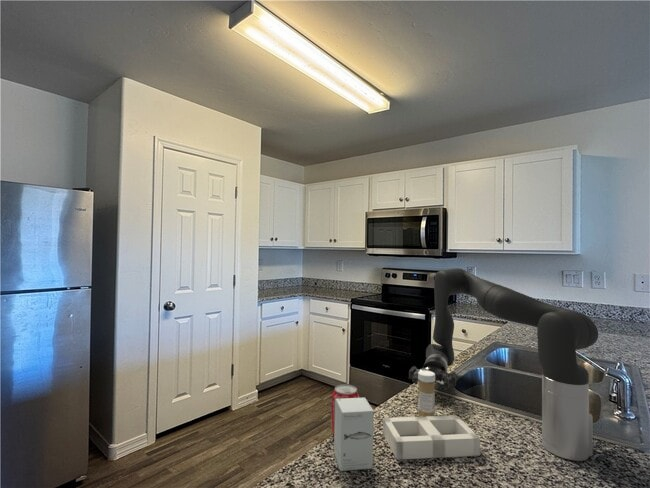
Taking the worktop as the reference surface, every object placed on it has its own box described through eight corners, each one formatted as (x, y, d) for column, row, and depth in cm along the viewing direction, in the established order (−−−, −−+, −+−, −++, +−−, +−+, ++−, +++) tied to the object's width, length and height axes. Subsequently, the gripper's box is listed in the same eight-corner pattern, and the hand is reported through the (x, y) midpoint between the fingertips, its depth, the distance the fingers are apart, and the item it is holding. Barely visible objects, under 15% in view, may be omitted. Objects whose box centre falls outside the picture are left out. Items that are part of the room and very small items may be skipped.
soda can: (352, 427, 90) (353, 382, 91) (363, 441, 84) (364, 392, 84) (327, 431, 88) (328, 384, 88) (336, 446, 81) (337, 395, 82)
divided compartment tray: (456, 430, 90) (456, 415, 90) (479, 455, 79) (480, 438, 79) (382, 433, 87) (383, 418, 88) (396, 459, 77) (396, 441, 77)
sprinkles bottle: (422, 415, 98) (423, 368, 98) (437, 421, 95) (438, 372, 95) (414, 421, 94) (415, 372, 95) (430, 427, 91) (430, 376, 92)
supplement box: (339, 472, 72) (340, 412, 72) (333, 452, 79) (334, 397, 79) (373, 469, 73) (374, 410, 73) (364, 449, 80) (365, 396, 80)
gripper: (414, 353, 120) (406, 367, 105) (457, 359, 114) (455, 375, 100) (414, 375, 120) (406, 392, 105) (457, 382, 114) (455, 400, 99)
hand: (430, 383), depth 102 cm, fingers open, 8 cm apart
